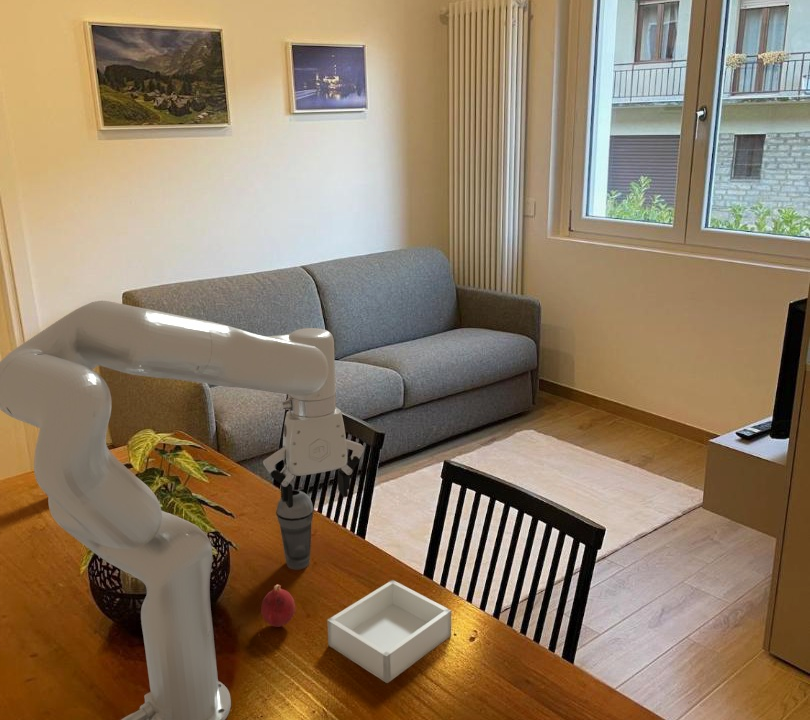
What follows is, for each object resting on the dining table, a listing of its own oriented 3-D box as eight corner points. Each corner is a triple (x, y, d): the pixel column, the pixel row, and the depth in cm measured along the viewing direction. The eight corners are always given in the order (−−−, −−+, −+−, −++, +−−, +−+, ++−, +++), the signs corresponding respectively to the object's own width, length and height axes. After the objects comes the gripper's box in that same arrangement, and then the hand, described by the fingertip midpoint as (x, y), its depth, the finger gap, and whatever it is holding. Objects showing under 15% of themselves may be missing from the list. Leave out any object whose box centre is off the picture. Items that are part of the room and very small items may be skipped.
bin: (387, 683, 121) (386, 656, 120) (328, 645, 130) (327, 619, 128) (451, 635, 132) (451, 610, 131) (392, 603, 141) (392, 579, 139)
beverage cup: (306, 576, 150) (301, 481, 144) (272, 569, 152) (266, 476, 146) (322, 556, 156) (318, 465, 150) (289, 550, 158) (284, 460, 152)
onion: (296, 634, 133) (294, 594, 130) (262, 638, 132) (259, 597, 130) (295, 614, 138) (293, 574, 136) (262, 617, 137) (259, 578, 135)
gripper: (266, 419, 121) (271, 518, 126) (370, 404, 128) (371, 498, 133) (255, 404, 128) (260, 499, 133) (354, 390, 134) (356, 481, 139)
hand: (316, 498), depth 133 cm, fingers open, 9 cm apart
